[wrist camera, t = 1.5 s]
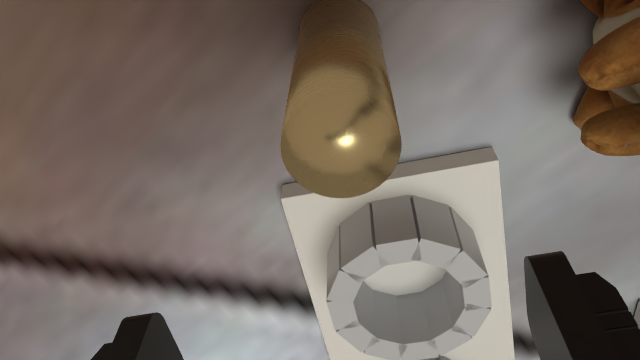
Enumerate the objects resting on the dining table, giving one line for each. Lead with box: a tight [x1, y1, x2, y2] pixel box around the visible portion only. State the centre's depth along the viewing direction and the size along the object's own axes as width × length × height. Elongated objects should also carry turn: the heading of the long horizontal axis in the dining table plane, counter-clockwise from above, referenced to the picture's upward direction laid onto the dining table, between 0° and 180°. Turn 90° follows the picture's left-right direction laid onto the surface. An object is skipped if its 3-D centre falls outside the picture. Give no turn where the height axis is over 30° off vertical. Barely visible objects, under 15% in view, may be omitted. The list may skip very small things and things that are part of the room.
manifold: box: [281, 147, 515, 360], centre depth 37 cm, size 22×12×6 cm, turn 13°
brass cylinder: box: [280, 0, 401, 198], centre depth 25 cm, size 4×4×12 cm
